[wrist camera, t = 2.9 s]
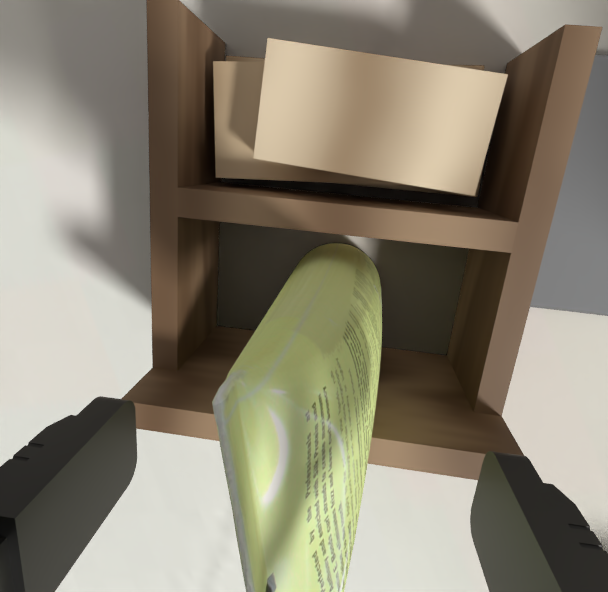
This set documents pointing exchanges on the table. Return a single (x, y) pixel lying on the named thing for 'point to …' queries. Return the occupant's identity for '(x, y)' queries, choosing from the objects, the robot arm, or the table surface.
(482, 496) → the robot arm
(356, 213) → the rack
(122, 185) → the table surface
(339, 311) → the tube
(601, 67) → the mat
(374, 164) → the offcut stack
